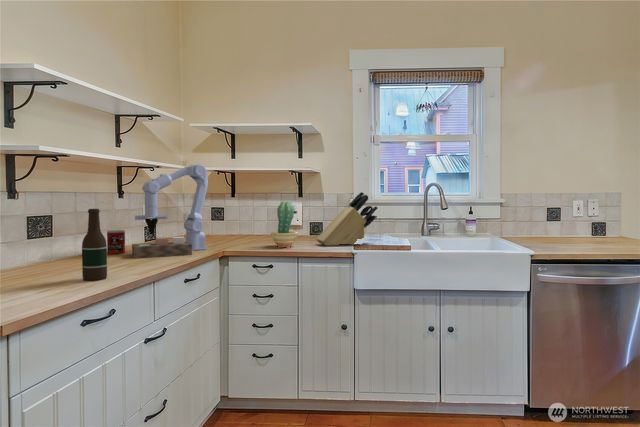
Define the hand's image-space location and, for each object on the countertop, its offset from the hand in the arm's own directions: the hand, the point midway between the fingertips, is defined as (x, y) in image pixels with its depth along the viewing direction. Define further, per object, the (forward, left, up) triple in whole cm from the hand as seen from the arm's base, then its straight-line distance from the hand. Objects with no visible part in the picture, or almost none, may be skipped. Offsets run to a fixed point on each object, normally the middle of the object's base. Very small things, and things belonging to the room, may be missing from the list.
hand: (151, 234), depth 200 cm
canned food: (+15, -7, -10) cm, 19 cm away
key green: (+4, +7, -8) cm, 11 cm away
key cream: (-11, +7, -5) cm, 14 cm away
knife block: (-105, +10, -10) cm, 106 cm away
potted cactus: (-68, +5, -10) cm, 69 cm away
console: (-4, +7, -9) cm, 12 cm away
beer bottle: (+24, +55, -10) cm, 60 cm away
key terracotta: (-4, +7, -5) cm, 9 cm away
